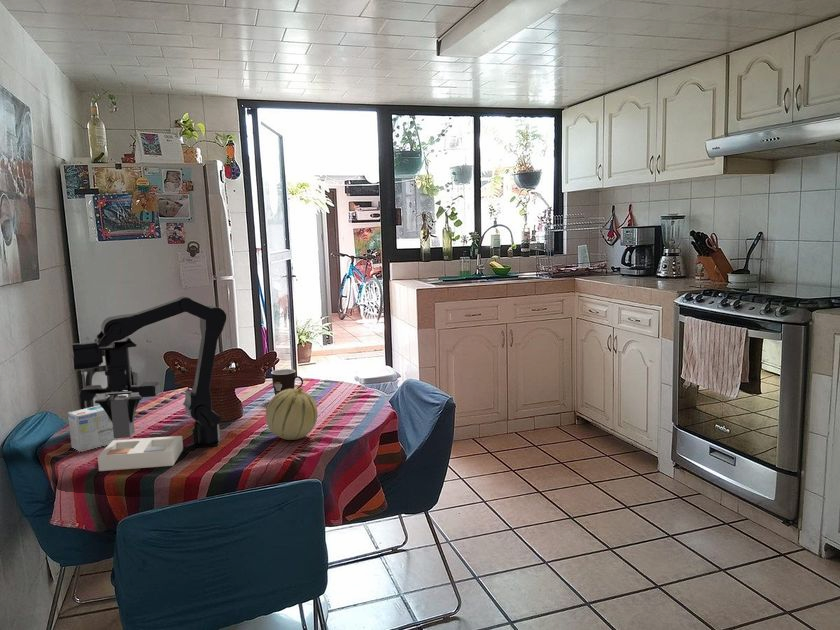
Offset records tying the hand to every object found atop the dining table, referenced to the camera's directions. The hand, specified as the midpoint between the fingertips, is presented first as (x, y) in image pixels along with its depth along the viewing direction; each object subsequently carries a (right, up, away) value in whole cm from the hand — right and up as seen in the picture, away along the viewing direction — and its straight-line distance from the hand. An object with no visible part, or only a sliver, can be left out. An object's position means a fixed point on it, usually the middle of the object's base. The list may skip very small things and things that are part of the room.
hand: (123, 422), depth 162 cm
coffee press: (-18, -7, +28) cm, 34 cm away
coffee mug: (+31, -2, +57) cm, 65 cm away
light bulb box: (-14, -9, +13) cm, 22 cm away
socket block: (+5, -10, +1) cm, 11 cm away
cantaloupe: (+42, -8, +16) cm, 45 cm away
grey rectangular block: (0, -4, +1) cm, 4 cm away
